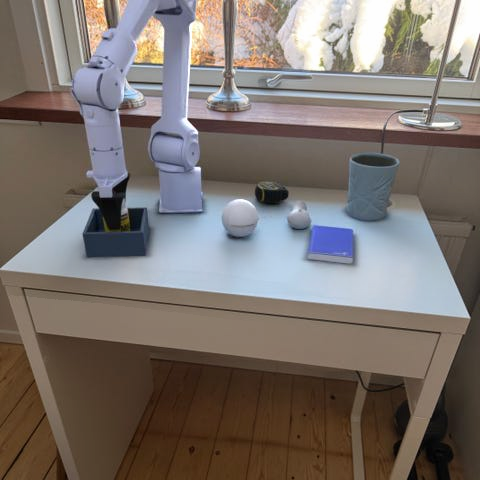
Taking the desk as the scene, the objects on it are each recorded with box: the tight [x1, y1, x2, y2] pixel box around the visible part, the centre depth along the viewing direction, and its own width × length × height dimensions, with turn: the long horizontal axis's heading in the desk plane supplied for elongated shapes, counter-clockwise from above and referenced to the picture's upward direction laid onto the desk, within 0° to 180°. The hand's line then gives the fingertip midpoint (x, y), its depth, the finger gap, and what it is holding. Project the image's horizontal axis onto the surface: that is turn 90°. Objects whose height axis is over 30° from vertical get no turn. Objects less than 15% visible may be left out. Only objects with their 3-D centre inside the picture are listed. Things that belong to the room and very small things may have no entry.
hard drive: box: [307, 224, 354, 264], centre depth 90 cm, size 2×8×12 cm
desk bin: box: [82, 206, 150, 258], centre depth 89 cm, size 11×12×5 cm
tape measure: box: [254, 180, 289, 204], centre depth 109 cm, size 7×7×4 cm
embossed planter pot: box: [346, 152, 401, 222], centre depth 101 cm, size 10×10×12 cm
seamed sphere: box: [221, 198, 273, 238], centre depth 92 cm, size 10×7×7 cm
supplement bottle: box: [103, 199, 130, 232], centre depth 88 cm, size 5×5×8 cm
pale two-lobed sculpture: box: [286, 199, 312, 230], centre depth 98 cm, size 4×8×5 cm
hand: (116, 220), depth 88 cm, fingers open, 7 cm apart
